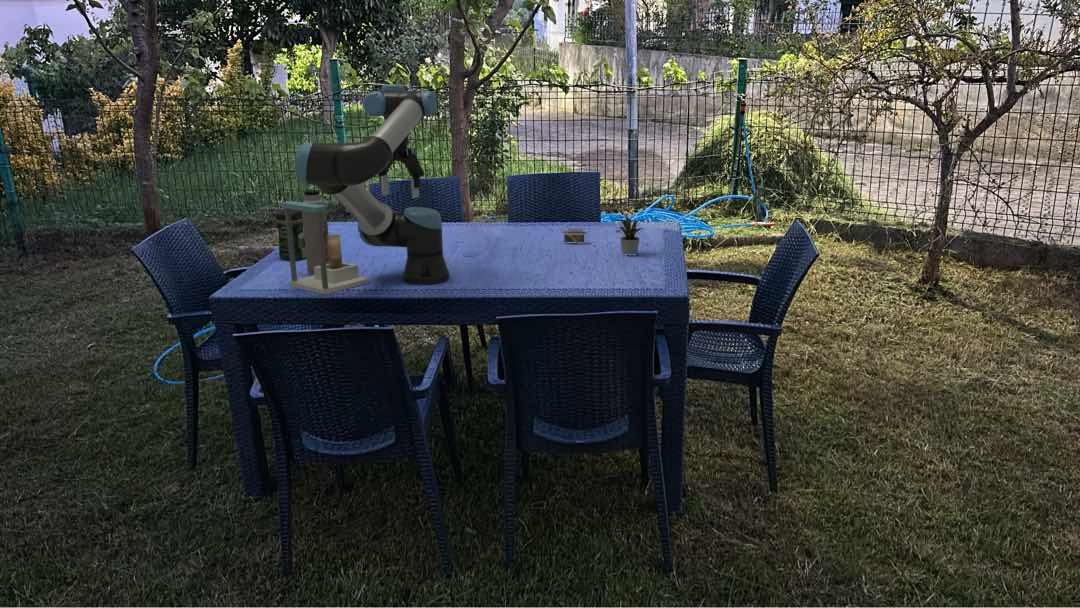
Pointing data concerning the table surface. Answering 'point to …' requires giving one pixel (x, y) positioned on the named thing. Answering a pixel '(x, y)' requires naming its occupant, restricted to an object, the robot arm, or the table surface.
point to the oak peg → (334, 251)
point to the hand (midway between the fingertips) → (400, 196)
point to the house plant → (629, 235)
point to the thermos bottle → (314, 232)
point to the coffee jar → (297, 234)
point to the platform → (574, 235)
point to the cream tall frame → (323, 275)
